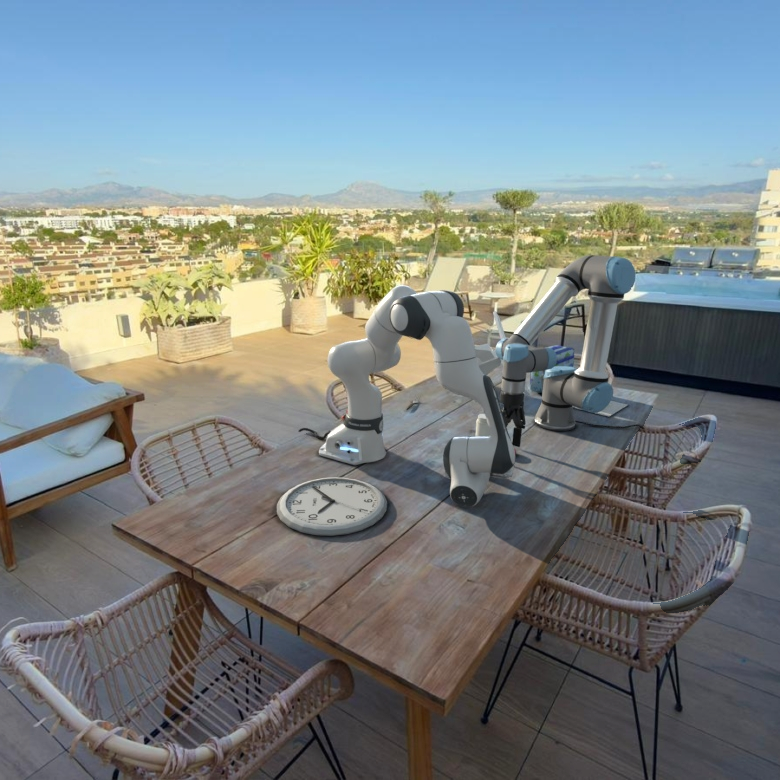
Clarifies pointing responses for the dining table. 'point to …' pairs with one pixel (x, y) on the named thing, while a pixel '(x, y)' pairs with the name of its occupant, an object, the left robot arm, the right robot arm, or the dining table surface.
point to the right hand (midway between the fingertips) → (506, 451)
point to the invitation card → (610, 408)
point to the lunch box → (563, 359)
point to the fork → (413, 402)
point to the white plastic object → (491, 354)
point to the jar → (482, 426)
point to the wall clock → (331, 506)
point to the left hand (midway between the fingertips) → (483, 453)
